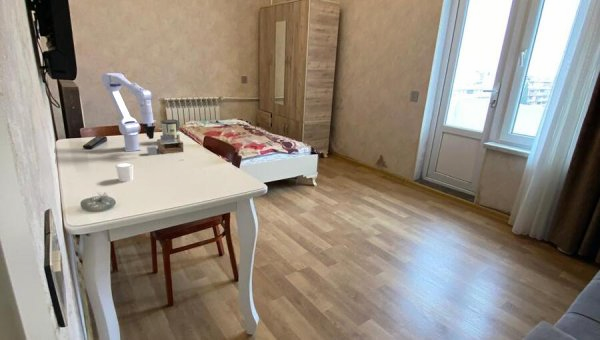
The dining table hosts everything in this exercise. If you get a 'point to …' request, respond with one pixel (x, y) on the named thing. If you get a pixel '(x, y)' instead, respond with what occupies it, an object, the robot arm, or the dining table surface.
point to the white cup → (125, 172)
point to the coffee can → (170, 128)
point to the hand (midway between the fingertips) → (150, 137)
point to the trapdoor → (168, 139)
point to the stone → (151, 150)
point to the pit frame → (170, 147)
